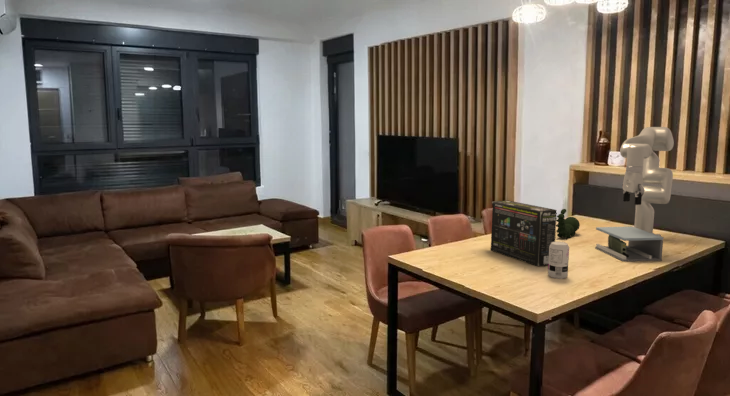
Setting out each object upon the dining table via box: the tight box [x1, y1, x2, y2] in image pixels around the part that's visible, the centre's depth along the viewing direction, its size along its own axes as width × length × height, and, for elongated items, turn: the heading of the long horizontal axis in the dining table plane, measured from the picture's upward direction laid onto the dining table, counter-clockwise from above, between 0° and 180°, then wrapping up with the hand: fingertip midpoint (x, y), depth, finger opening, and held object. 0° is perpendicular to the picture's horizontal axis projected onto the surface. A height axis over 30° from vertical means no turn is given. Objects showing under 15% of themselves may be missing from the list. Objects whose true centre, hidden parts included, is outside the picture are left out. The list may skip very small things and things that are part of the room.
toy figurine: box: [555, 208, 581, 239], centre depth 302 cm, size 9×19×25 cm
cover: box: [595, 226, 664, 242], centre depth 261 cm, size 20×26×1 cm
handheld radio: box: [607, 235, 629, 257], centre depth 262 cm, size 7×3×25 cm
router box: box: [490, 200, 558, 267], centre depth 257 cm, size 36×11×27 cm, turn 26°
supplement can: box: [547, 241, 570, 280], centre depth 225 cm, size 8×8×15 cm
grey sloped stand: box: [594, 239, 664, 263], centre depth 262 cm, size 20×26×10 cm
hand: (632, 202), depth 259 cm, fingers open, 9 cm apart
